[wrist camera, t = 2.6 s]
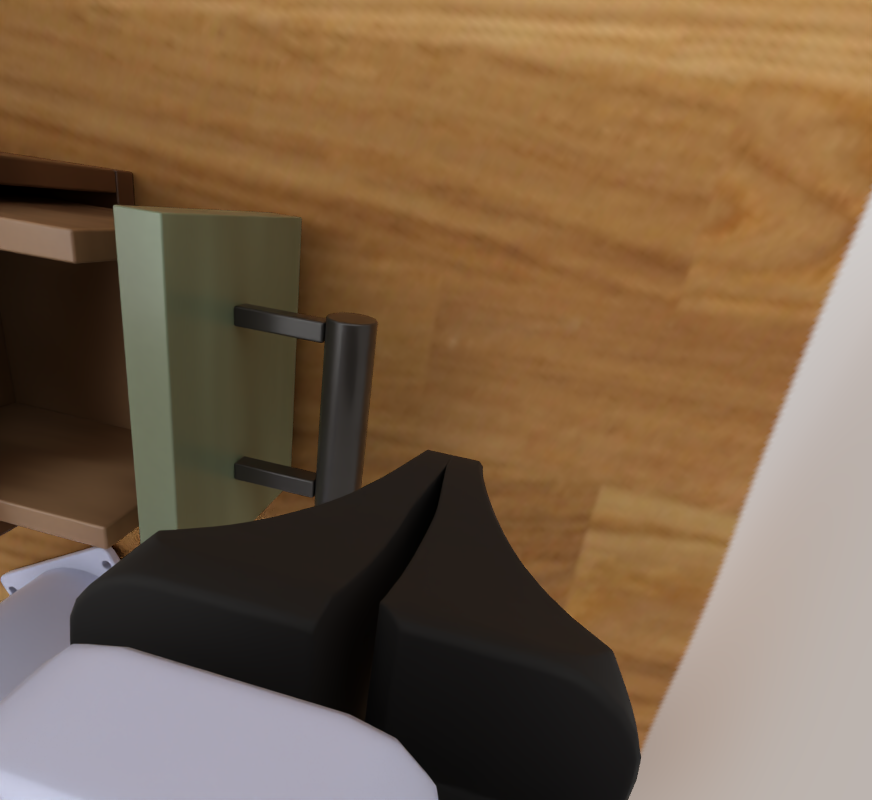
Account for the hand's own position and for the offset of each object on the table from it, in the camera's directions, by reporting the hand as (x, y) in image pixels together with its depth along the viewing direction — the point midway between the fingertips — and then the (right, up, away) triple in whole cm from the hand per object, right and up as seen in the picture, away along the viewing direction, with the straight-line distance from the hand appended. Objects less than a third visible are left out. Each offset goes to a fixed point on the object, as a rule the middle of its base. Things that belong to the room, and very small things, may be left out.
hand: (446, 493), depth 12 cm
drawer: (-10, +4, +8) cm, 13 cm away
